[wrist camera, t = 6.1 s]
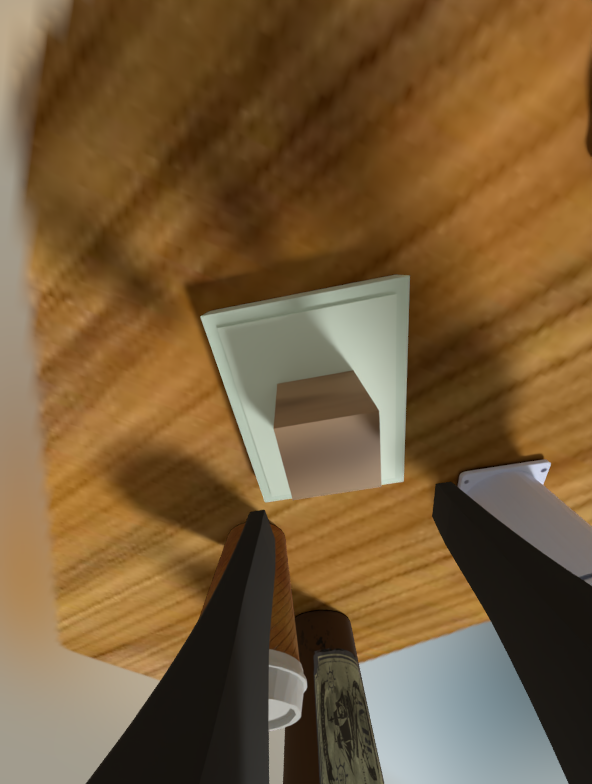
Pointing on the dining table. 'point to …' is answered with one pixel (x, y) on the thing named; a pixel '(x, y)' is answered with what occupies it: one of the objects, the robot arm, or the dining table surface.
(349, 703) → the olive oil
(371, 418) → the walnut block
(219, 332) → the serving board
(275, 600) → the disposable coffee cup
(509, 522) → the robot arm
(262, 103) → the dining table surface
